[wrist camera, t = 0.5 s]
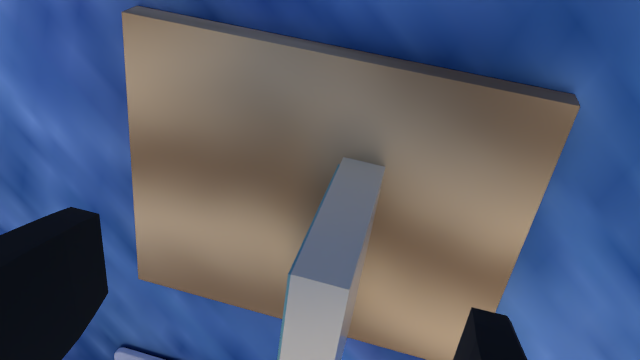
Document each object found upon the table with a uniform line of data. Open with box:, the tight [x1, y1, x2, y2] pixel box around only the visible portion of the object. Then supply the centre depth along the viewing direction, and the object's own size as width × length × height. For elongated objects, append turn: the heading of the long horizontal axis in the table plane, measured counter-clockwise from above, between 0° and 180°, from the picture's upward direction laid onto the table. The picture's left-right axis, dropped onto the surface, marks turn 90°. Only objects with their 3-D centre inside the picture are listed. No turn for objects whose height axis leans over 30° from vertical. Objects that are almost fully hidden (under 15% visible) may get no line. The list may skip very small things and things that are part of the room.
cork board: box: [122, 6, 580, 360], centre depth 21 cm, size 12×15×1 cm
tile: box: [277, 157, 385, 360], centre depth 18 cm, size 8×2×6 cm, turn 173°
